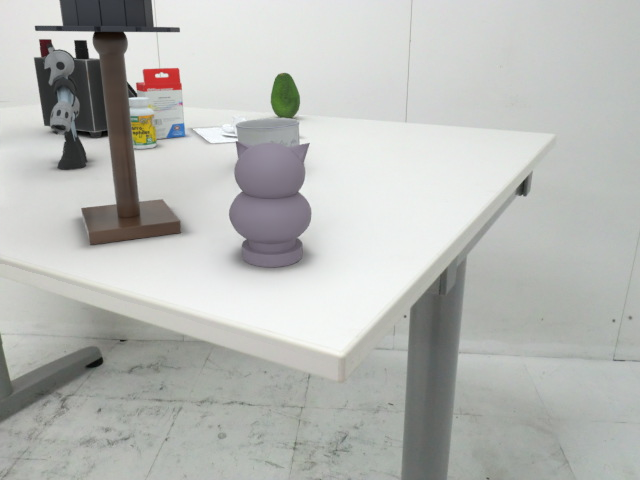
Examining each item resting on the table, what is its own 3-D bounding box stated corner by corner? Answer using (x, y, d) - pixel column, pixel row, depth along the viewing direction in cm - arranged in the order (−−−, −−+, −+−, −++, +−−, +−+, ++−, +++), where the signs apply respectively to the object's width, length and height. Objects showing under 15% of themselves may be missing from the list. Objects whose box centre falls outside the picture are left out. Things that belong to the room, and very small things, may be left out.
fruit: (270, 116, 157) (269, 71, 153) (298, 116, 158) (298, 71, 154) (271, 120, 150) (270, 73, 146) (301, 120, 151) (301, 73, 147)
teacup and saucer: (217, 132, 131) (216, 114, 130) (250, 130, 134) (249, 113, 133) (226, 139, 124) (225, 120, 122) (261, 137, 127) (261, 118, 125)
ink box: (176, 133, 130) (172, 66, 125) (185, 136, 126) (181, 67, 121) (140, 136, 125) (133, 67, 120) (148, 140, 122) (142, 68, 116)
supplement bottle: (158, 144, 118) (154, 96, 114) (155, 149, 113) (150, 99, 109) (131, 144, 117) (126, 96, 114) (127, 149, 112) (121, 99, 109)
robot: (84, 176, 91) (67, 44, 84) (51, 178, 90) (31, 44, 83) (91, 152, 109) (77, 42, 102) (64, 153, 107) (48, 41, 100)
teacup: (277, 177, 92) (277, 127, 89) (224, 169, 97) (222, 122, 94) (319, 161, 104) (320, 117, 101) (269, 155, 109) (269, 112, 106)
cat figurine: (220, 266, 57) (213, 148, 53) (243, 240, 64) (239, 134, 60) (303, 273, 56) (303, 152, 52) (317, 245, 63) (319, 137, 59)
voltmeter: (150, 128, 136) (142, 39, 129) (95, 138, 122) (83, 40, 115) (101, 122, 143) (91, 38, 136) (45, 132, 129) (30, 39, 122)
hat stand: (82, 219, 71) (55, 23, 63) (163, 209, 75) (147, 25, 67) (90, 245, 62) (59, 23, 54) (181, 232, 66) (165, 24, 59)
